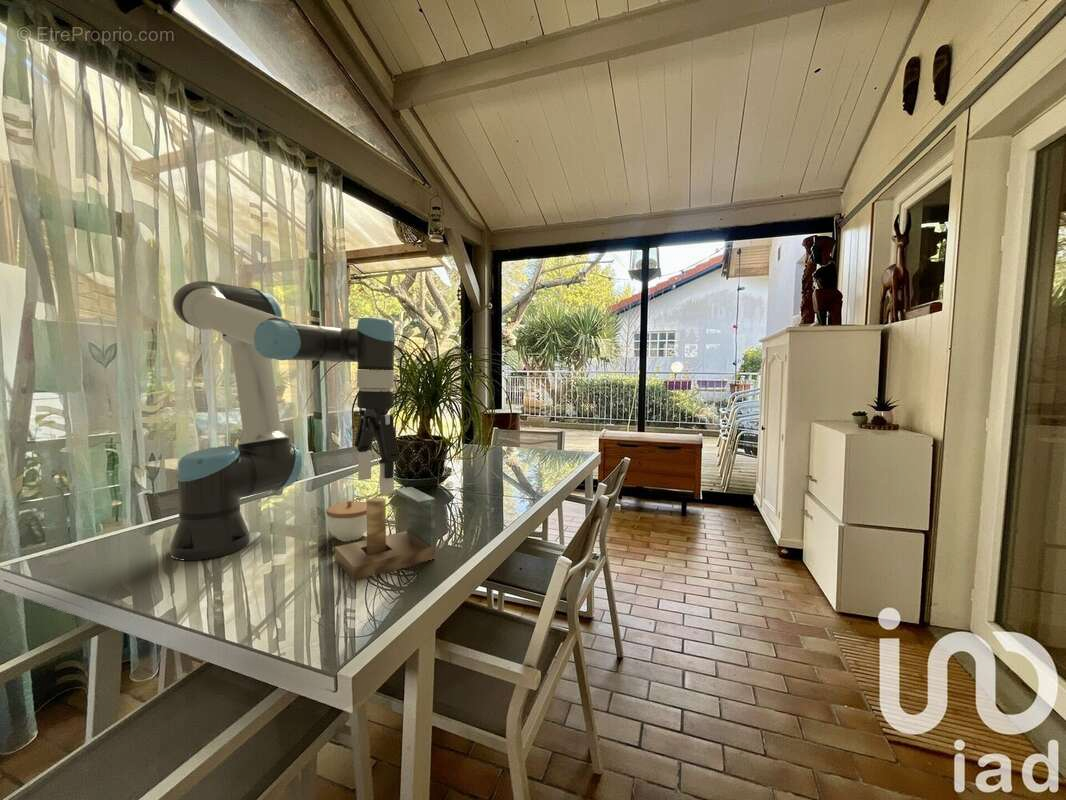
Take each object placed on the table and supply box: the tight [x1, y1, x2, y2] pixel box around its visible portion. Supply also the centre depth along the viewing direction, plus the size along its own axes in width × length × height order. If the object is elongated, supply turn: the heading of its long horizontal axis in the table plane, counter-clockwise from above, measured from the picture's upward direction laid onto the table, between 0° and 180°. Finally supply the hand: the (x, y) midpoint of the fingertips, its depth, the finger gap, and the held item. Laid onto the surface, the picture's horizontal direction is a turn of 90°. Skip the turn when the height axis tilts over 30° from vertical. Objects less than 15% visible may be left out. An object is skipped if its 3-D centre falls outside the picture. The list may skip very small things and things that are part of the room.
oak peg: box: [366, 497, 387, 556], centre depth 98 cm, size 4×4×14 cm
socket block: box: [334, 486, 436, 582], centre depth 100 cm, size 18×13×14 cm
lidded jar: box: [326, 500, 367, 542], centre depth 113 cm, size 11×11×9 cm
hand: (375, 485), depth 98 cm, fingers open, 13 cm apart
